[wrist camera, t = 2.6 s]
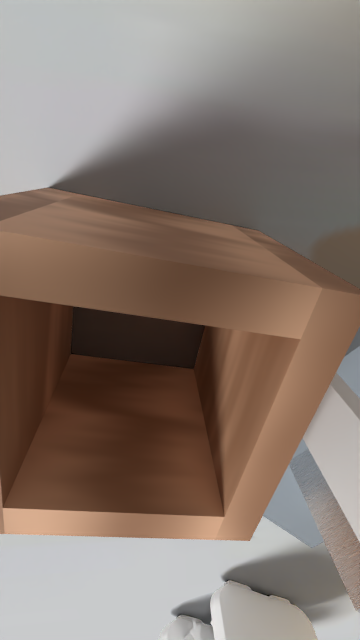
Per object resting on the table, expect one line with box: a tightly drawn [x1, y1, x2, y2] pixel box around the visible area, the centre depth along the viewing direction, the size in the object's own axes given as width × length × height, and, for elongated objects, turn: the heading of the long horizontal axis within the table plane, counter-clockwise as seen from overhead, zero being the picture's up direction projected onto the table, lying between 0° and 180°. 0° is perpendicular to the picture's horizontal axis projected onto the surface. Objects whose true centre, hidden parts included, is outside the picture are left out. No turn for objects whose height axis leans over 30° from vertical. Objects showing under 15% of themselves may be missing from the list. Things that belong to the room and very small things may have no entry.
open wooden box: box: [0, 188, 360, 541], centre depth 13 cm, size 10×10×9 cm
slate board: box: [263, 327, 360, 548], centre depth 22 cm, size 16×16×2 cm
